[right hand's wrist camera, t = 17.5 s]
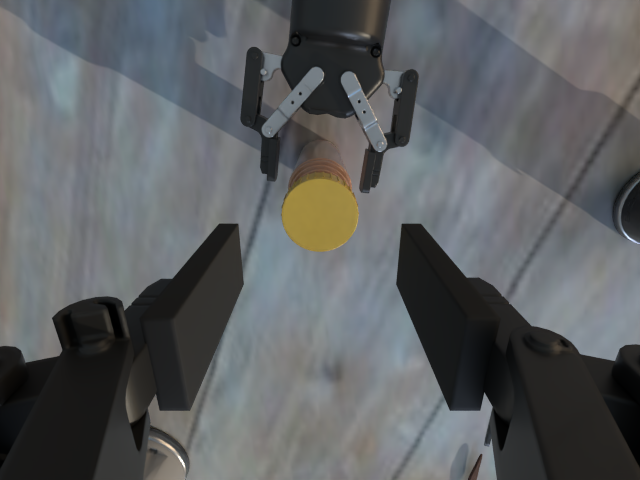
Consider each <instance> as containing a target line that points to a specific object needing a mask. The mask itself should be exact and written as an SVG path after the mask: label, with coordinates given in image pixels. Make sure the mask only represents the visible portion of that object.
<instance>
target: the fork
mask: <svg viewBox="0 0 640 480" xmlns="http://www.w3.org/2000/svg"><path fill="white" fill-rule="evenodd" d="M481 459H482V454H480V456H479V458H478V460H477V462H476V464H475V466H474V468H473V470H472V472H471V473H470V475H469V478H468V480H477V476H478V471H479V467H480V464H481Z"/></svg>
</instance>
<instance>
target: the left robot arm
mask: <svg viewBox="0 0 640 480" xmlns="http://www.w3.org/2000/svg"><path fill="white" fill-rule="evenodd" d="M390 3H391V0H292V8H291V21H290V34H289V43H288V47H287V49H286V51H285V53H284V55H283V56H280V55H275V54H270V53H266V52H262V51H261V50H259V49H258V48H257V47H251V48H250V49H249V50H248V51H247V57H246V67H245V77H244V88H243V98H242V108H241V122H242V124H243V125H244V126H247V127H250V128H252V129H254V130H256V131H258V132H259V133H260V135H261V137H262V147H261V164H260V168H261V171H262V173H263V174H267V181H274V182H275V181H276V179H277V174H278V161H279V149H280V137H278V132H279V131H280V130H281V129H282V127H283V126H284V125H285V124H286V123H287V122H288V121H289V120H290V119H291V118H292V116H293V115H294V114H295V113H296V112H297V111H298V110H299V109H300V108H302V109H303V110H305V111H306V112H308V113H309V114H316V115H320V114H327V113H328V114H330V115H333V116H335V117H339V118H347V117H351V116H353V115H354V116H355V118H356V120H357V122H358V123H359V125H360V127H361V129H362V130H363V132H364V134H365V136H366V138H367V140H368V142H369V147H368V149H365V155H364V161H363V167H362V173H361V179H360V186H359V189H360V191H361V192H362V193H369V191H370V187H374V188H375V187H376V185H377V184H378V181H379V176H380V171H381V165H382V160H383V155H384V153H385V152H386V151H387V150H388V149H390V148H395V147H399V146H400V147H404V146H406V145H407V144H408V142H409V138H410V132H411V125H412V118H413V112H414V105H415V98H416V92H417V85H418V78H419V75H418V73H417V71H415V70H413V69H410V70H406V71H390V70H384V68H383V64H382V50H383V44H384V39H385V33H386V27H387V21H388V15H389V9H390ZM278 69H281V71H282V73H283V75H284V77H285V79H286V80H287V82H288V84H289V86H290V88H291V90H292V92H291V93H290V94H289V95H288V96H287V98H286V99H285V100H284V101H283V102H282V103H281V104H280V106H279V107H278V108H277V110H276V111H275V112H274V113H273V114H272V116H271V117H270V118H269V119H267V118H266V117H264V116H262V115H260V113H261V104H262V95H263V87H264V81H270V80H271V79H272V77H273V74H274V72H275V71H276V70H278ZM382 83H384V84H385V85H386V86H387V87H388V94H389V96H390V97H391V98H394V99H395V101H394V108H393V116H392V124H391V132H388V133H384V134H383V133H382V131H381V129H380V127H379V125H378V122H377V119H376V117H375V115H374V113H373V111H372V109H371V107H370V105H369V103H368V101H367V100H368V99H369V98H370V97H371V96H372V95H373V94H374V93H375V92H376V90H377V89H378V88H379V87H380V86H381V85H382ZM613 221H614V225H615V227H616V229H617V231H618V232H619V233H620V234H621V235H622V236H623V237H625V238H627V239H629V240H631V241H633V242H636V243H638V244H640V172H639V173H638V174H637V175H635V176H634V177H633V178H632V179H631V180H630V181H629V182H628V183H627V184H626V185H625V186H624V187H623V189H622V190H621V192H620V193H619V195H618V197H617V199H616V202H615V205H614V210H613Z"/></svg>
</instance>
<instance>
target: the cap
mask: <svg viewBox="0 0 640 480" xmlns="http://www.w3.org/2000/svg"><path fill="white" fill-rule="evenodd" d="M357 207H358V204H357V202H356V198H355V195H354V193H352V191H351V188H350V186H348V185H347V184H346V183H345V181H343V180H341V179H340V178H339V176H335V175H332V173H330V174H329V173H324V172H319V173H316V172H315V173H311V174H307V175H305V176H303V177H300V179H298V180H297V181H296V182H294V184H293V185H292V186H291V187H289V190H288V192H287V194H286V195H285V198H284V202H283V205H282V214H281V216H282V222H283V226H284V229H285V231H286V233H287V234H288V236H289V237H290V238H291V239H292V241H294V242H295V243H296V244H297V245H299V246H300V247H302V248H304V249H307V250H311V251H317V252H324V251H329V250H333V249H335V248H338V247H339V246H341V245H343V244H344V243H345V242H346V241H347V240H348V239H349V238H350V237H351V236H352V234H353V233H354V231H355V229H356V226H357V222H358V214H359V213H358V208H357Z"/></svg>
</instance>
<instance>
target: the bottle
mask: <svg viewBox="0 0 640 480" xmlns="http://www.w3.org/2000/svg"><path fill="white" fill-rule="evenodd" d="M315 172H316V173H319V172H324V173H329V174H330V173H332V175H335V176H339V178H340V179H341V180H343V181H345V183H346V184H347V185H348V186H350V188H351V191H352V185H351V180H350V177H349V175H348V172H347V170H346V168H345V165H344V163H343V160H342V158H341V155H340V153H339V151H338V149H337V148H336V146H335V145H334V144H332V143H331V142H329V141H327V140H322V139H318V140H313V141H311V142H309V143H308V144H306V145H305V146H304V147H303V149H302V151H301V153H300V155H299V158H298V160H297V163H296V165H295V167H294V170H293V172H292V175H291V177H290V180H289V185H288V190H289V187H291V186H292V185H293V184H294V182H296V181H297V180H298V179H300V177H303V176H305V175H307V174H311V173H315Z"/></svg>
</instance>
